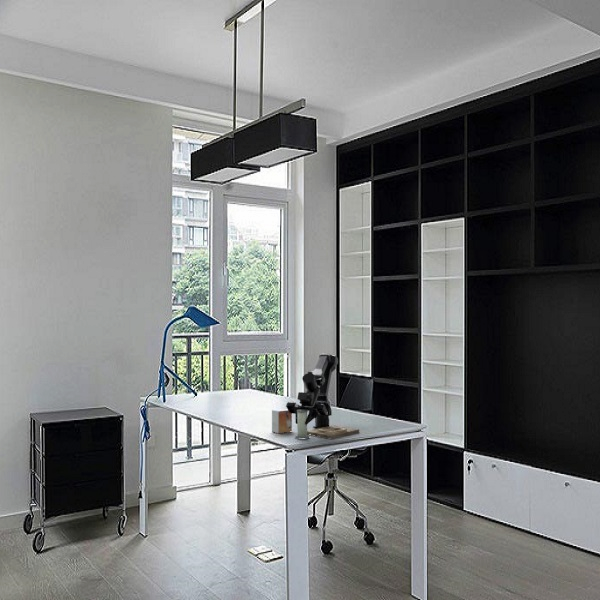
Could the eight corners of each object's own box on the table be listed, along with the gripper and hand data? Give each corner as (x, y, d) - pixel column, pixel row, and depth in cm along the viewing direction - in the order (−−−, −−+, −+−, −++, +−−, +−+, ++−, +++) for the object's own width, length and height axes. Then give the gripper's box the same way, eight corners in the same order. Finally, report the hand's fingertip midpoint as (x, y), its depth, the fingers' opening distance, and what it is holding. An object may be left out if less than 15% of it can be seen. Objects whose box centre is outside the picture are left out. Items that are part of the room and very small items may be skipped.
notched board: (305, 434, 314) (304, 428, 314) (334, 428, 328) (334, 423, 328) (329, 439, 303) (329, 433, 303) (359, 432, 317) (359, 427, 317)
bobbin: (292, 438, 306) (292, 410, 306) (302, 436, 310) (302, 408, 310) (302, 440, 301) (302, 411, 301) (312, 437, 305) (312, 410, 305)
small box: (278, 434, 315) (278, 411, 315) (271, 432, 320) (271, 409, 320) (292, 432, 320) (292, 409, 320) (285, 430, 324) (285, 408, 324)
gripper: (287, 384, 313) (276, 411, 303) (324, 386, 305) (314, 414, 295) (295, 399, 320) (284, 426, 310) (331, 401, 312) (321, 429, 302)
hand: (300, 423), depth 304 cm, fingers closed on bobbin, 4 cm apart
